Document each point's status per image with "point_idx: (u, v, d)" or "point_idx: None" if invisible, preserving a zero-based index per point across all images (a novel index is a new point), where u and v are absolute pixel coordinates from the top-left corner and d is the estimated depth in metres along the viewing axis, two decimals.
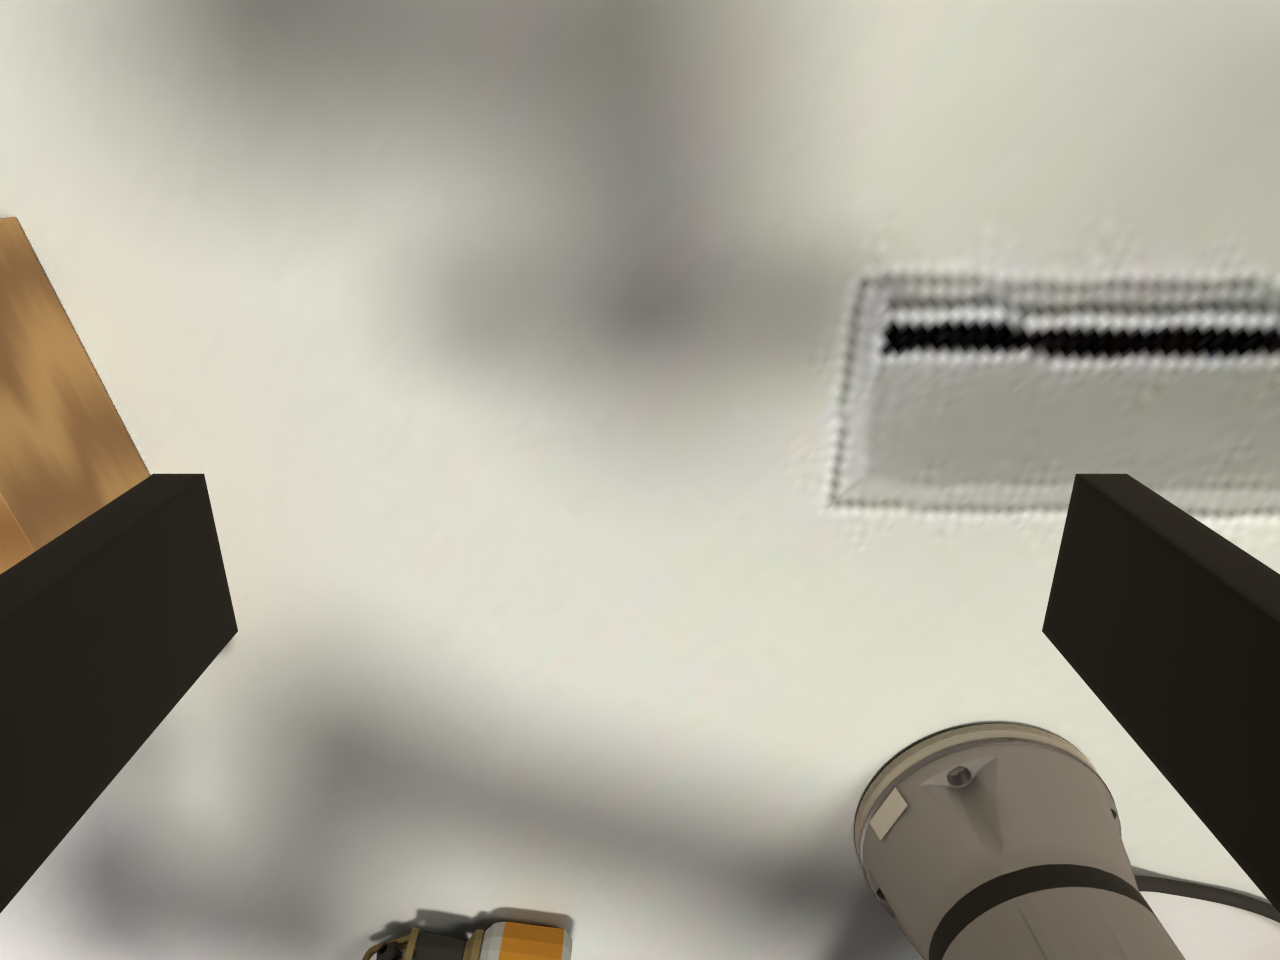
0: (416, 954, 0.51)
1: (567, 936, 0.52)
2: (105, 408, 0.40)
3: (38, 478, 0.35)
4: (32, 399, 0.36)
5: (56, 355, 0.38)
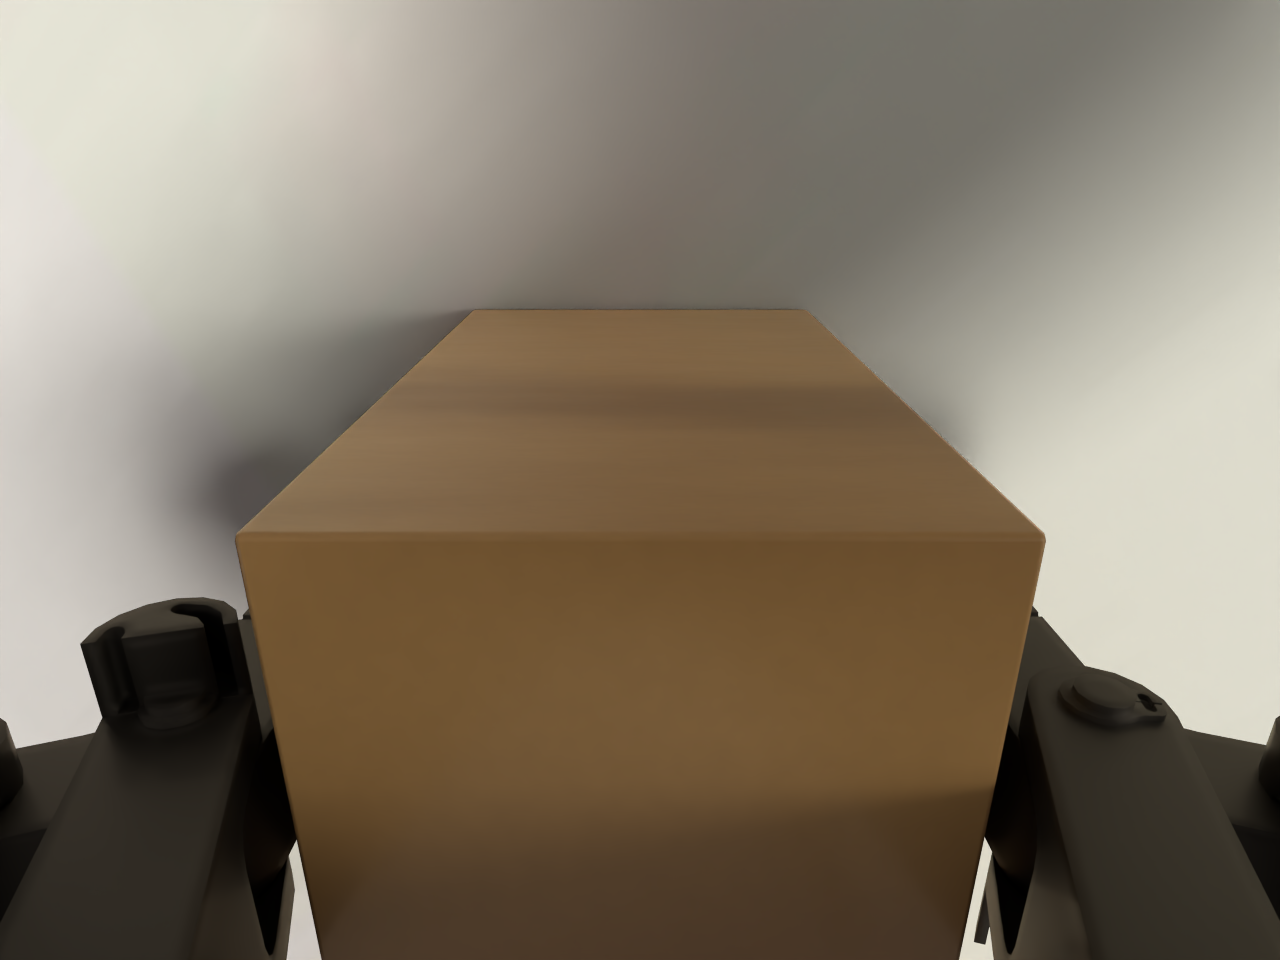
0: None
1: None
2: None
3: None
4: None
5: None
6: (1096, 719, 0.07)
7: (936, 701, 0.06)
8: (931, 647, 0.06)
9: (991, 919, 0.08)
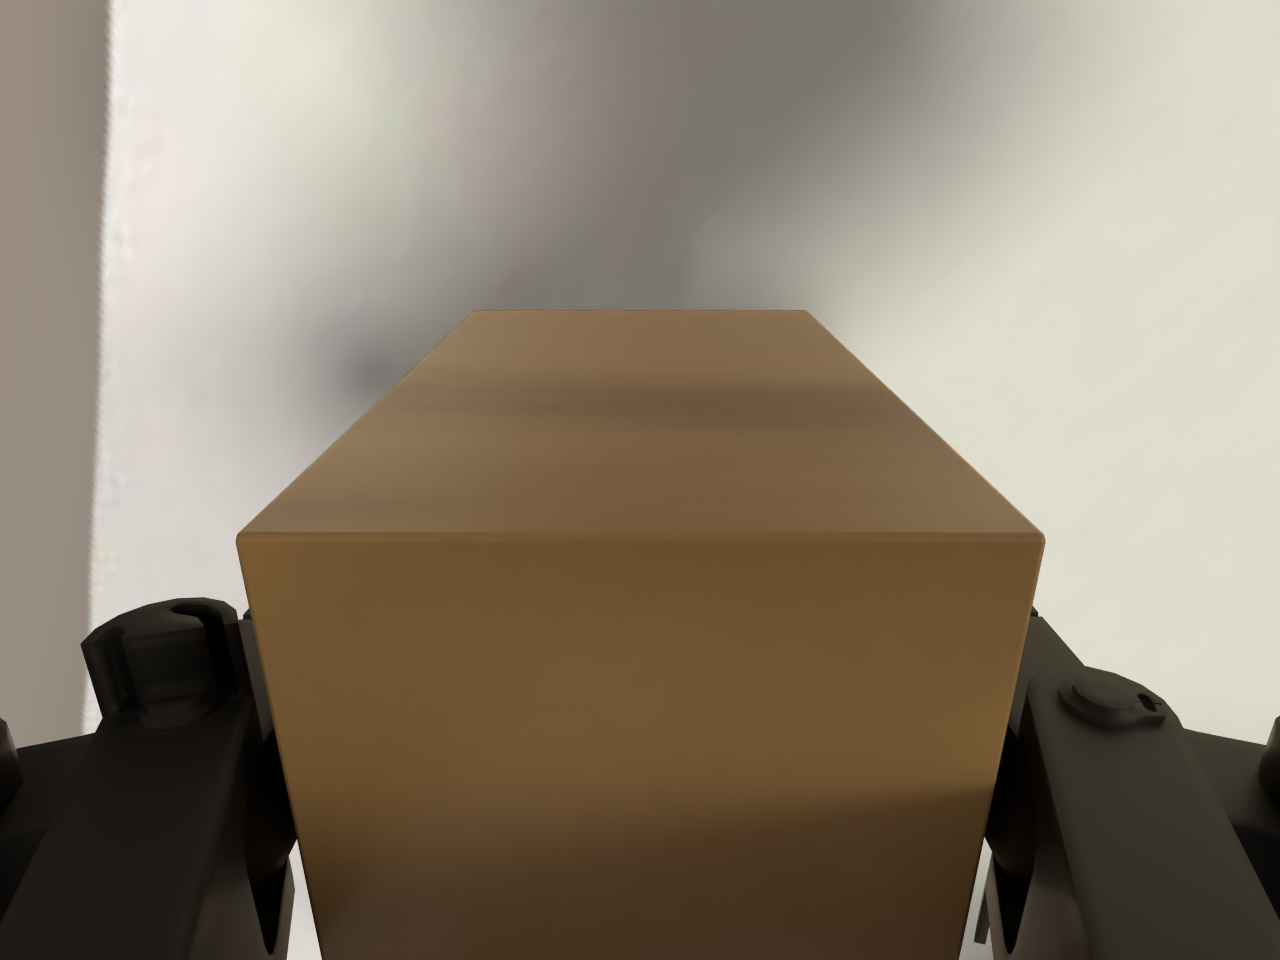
0: None
1: None
2: None
3: None
4: None
5: None
6: (1097, 719, 0.07)
7: (936, 702, 0.06)
8: (930, 648, 0.06)
9: (991, 919, 0.08)
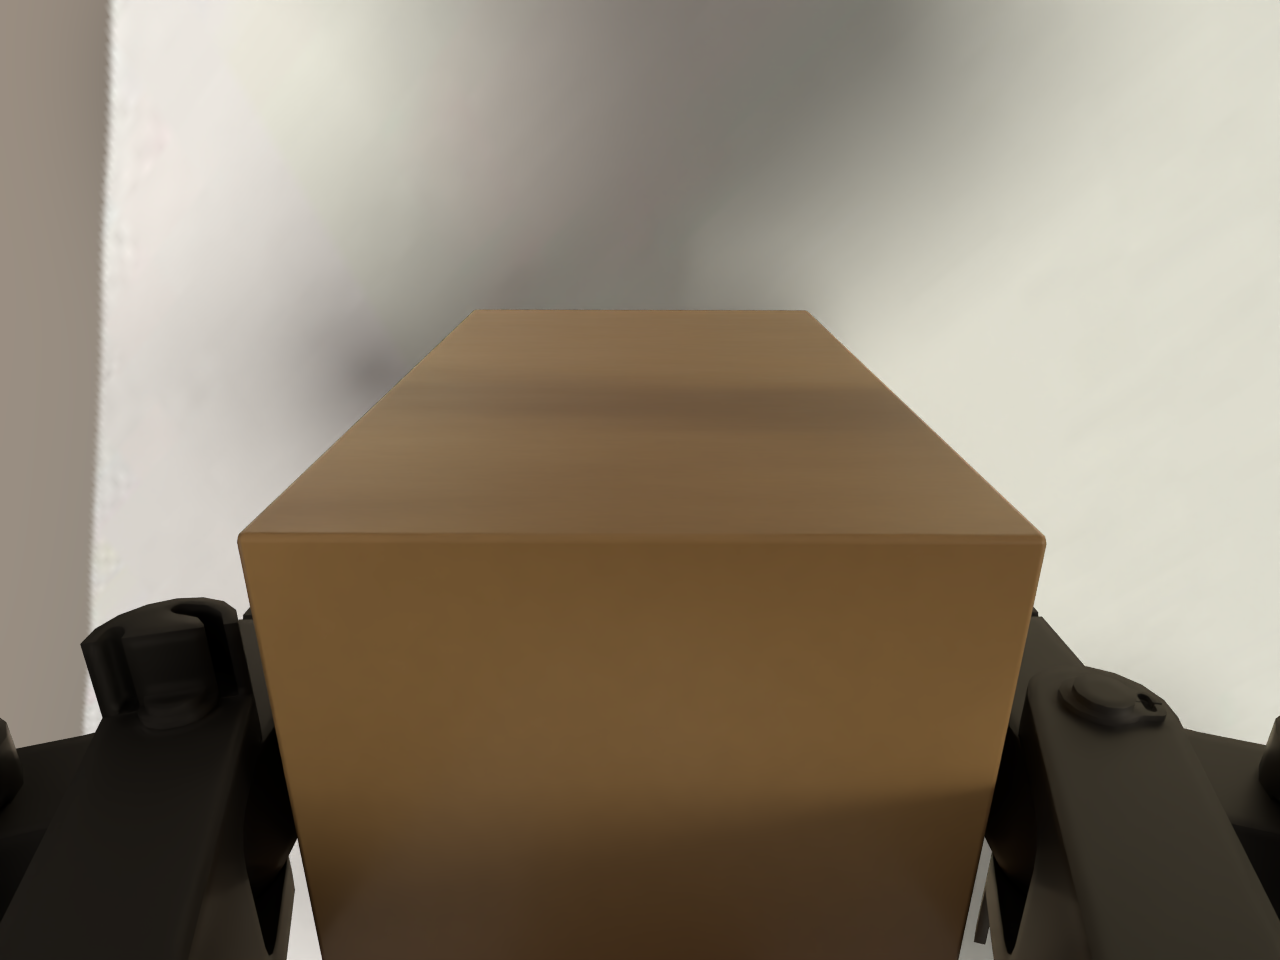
0: None
1: None
2: None
3: None
4: None
5: None
6: (1096, 719, 0.07)
7: (936, 703, 0.06)
8: (932, 650, 0.06)
9: (991, 919, 0.08)
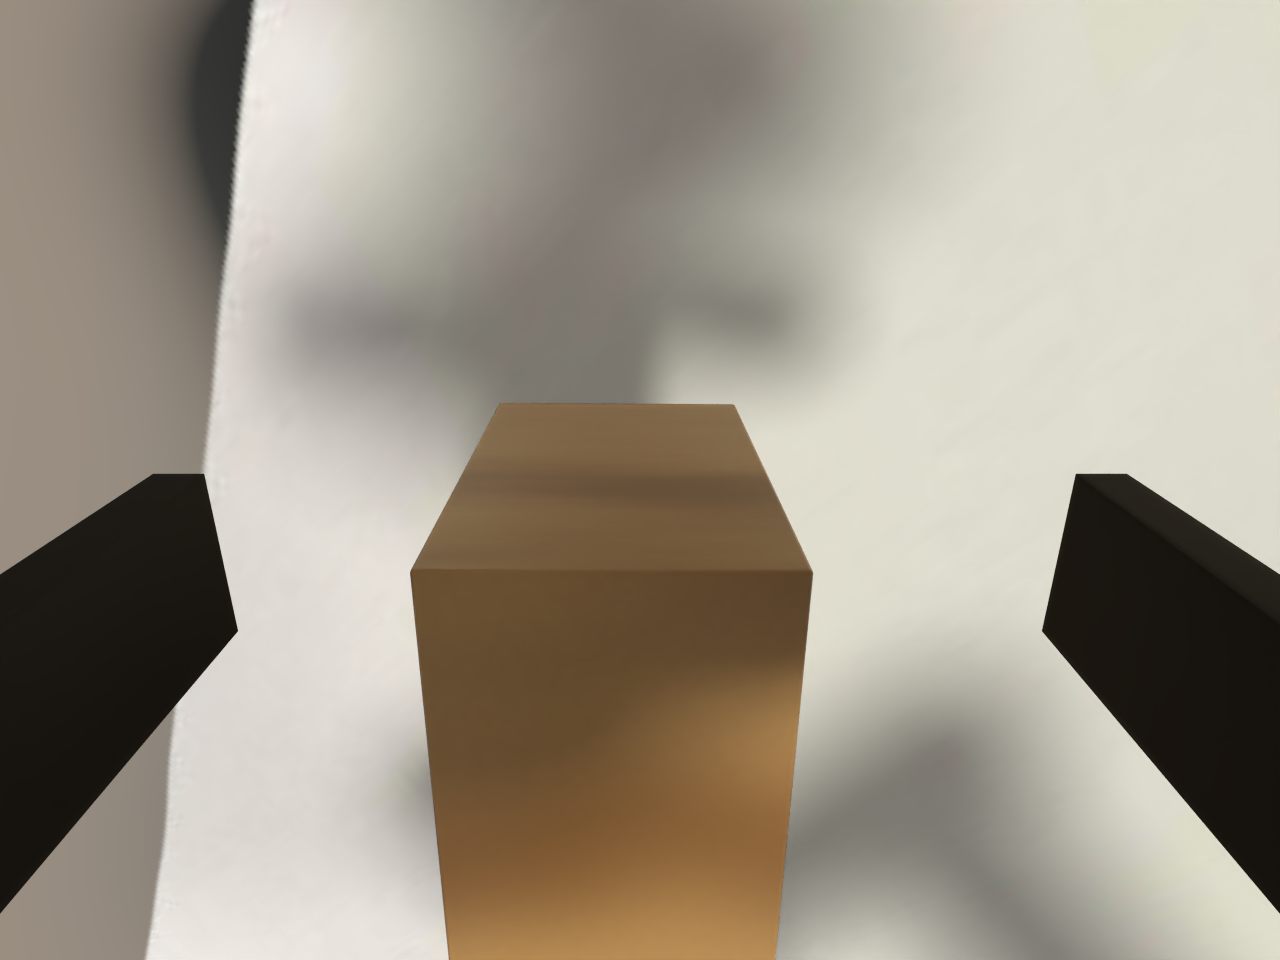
0: None
1: None
2: None
3: None
4: None
5: None
6: None
7: (765, 656, 0.12)
8: (760, 628, 0.12)
9: None
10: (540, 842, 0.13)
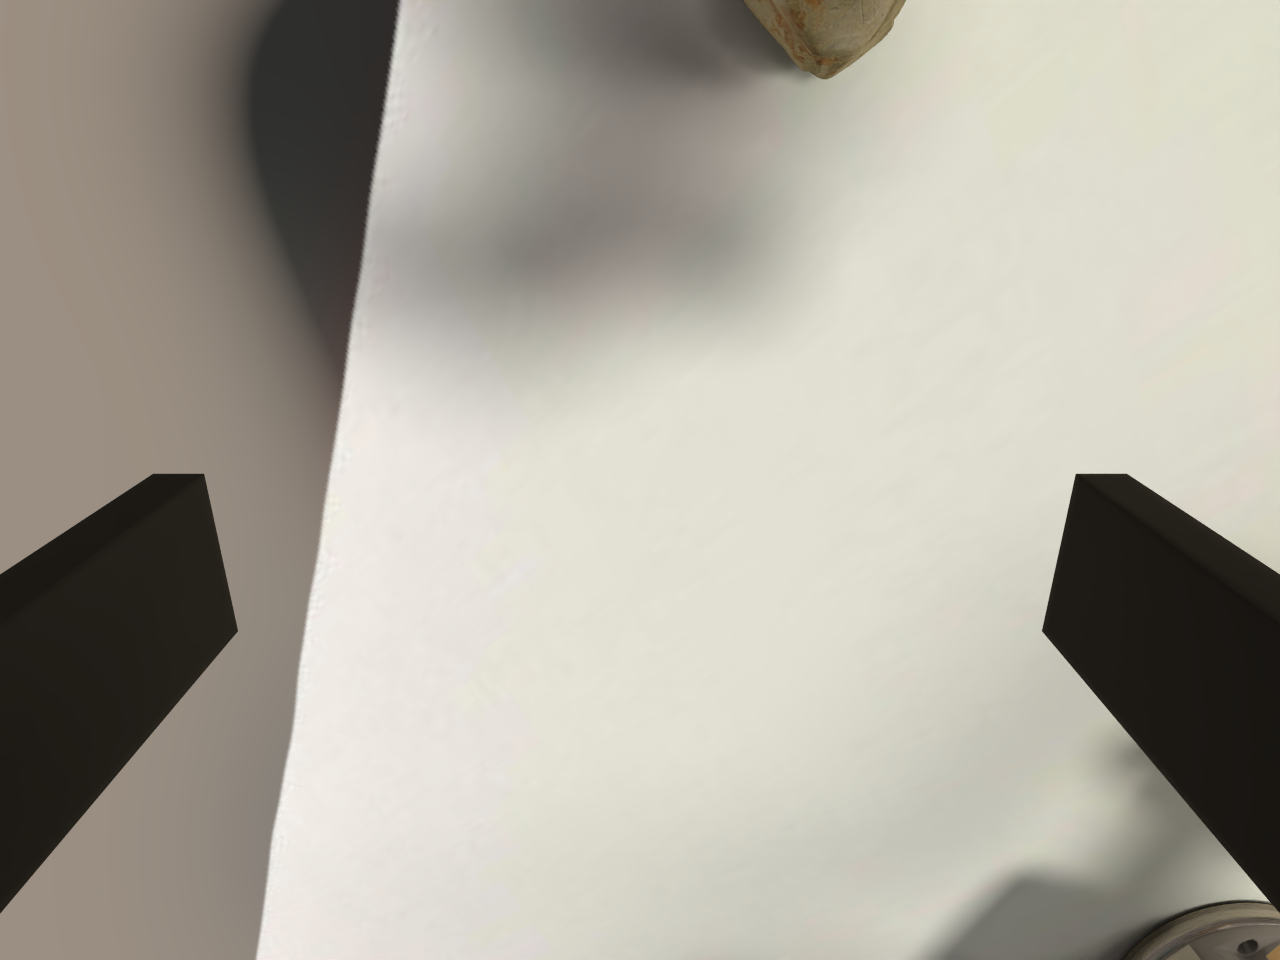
0: None
1: None
2: None
3: None
4: None
5: None
6: None
7: None
8: None
9: None
10: None
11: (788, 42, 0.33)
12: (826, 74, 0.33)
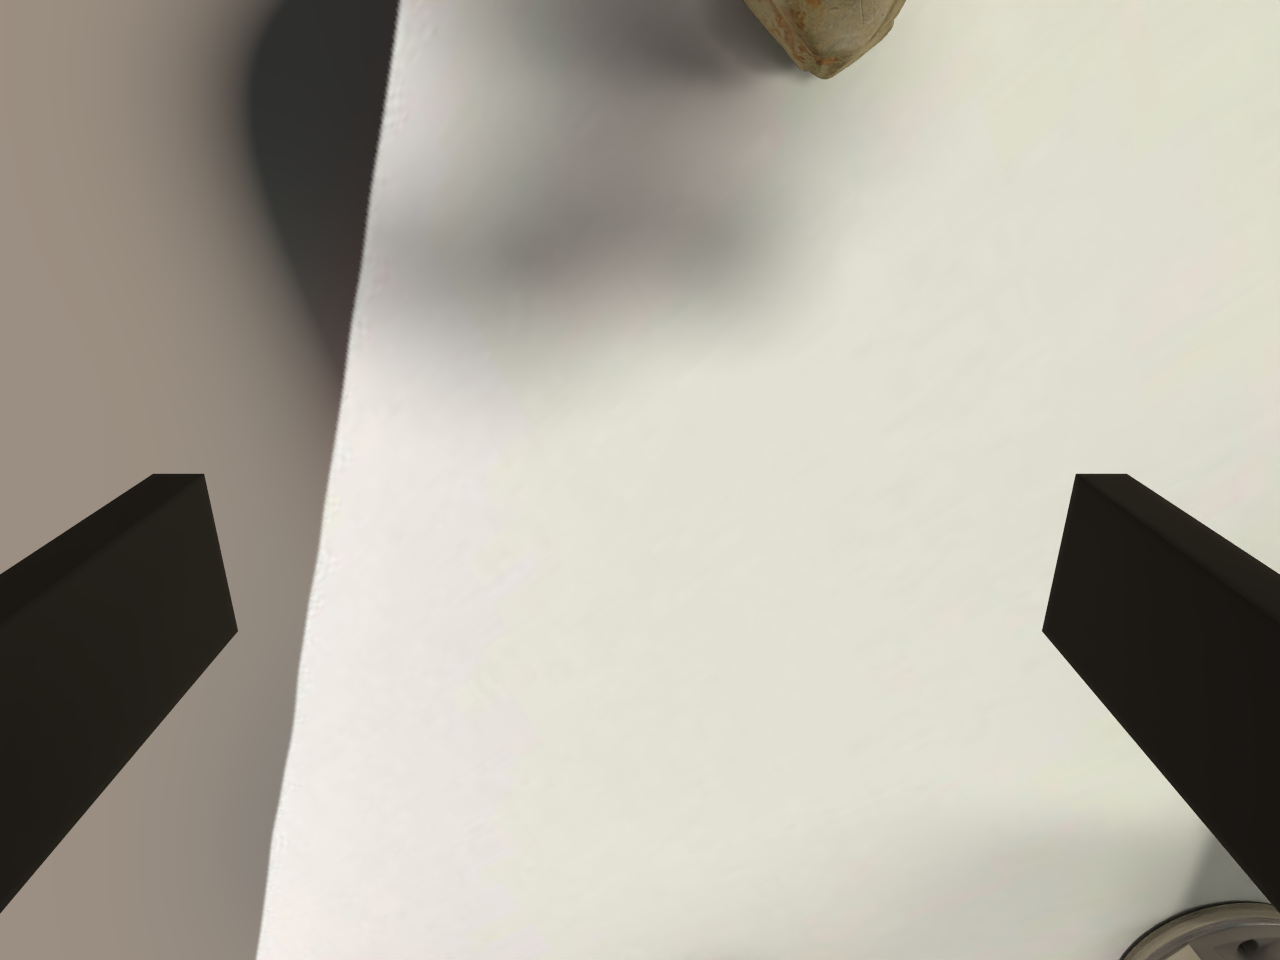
0: None
1: None
2: None
3: None
4: None
5: None
6: None
7: None
8: None
9: None
10: None
11: (788, 42, 0.33)
12: (826, 74, 0.33)
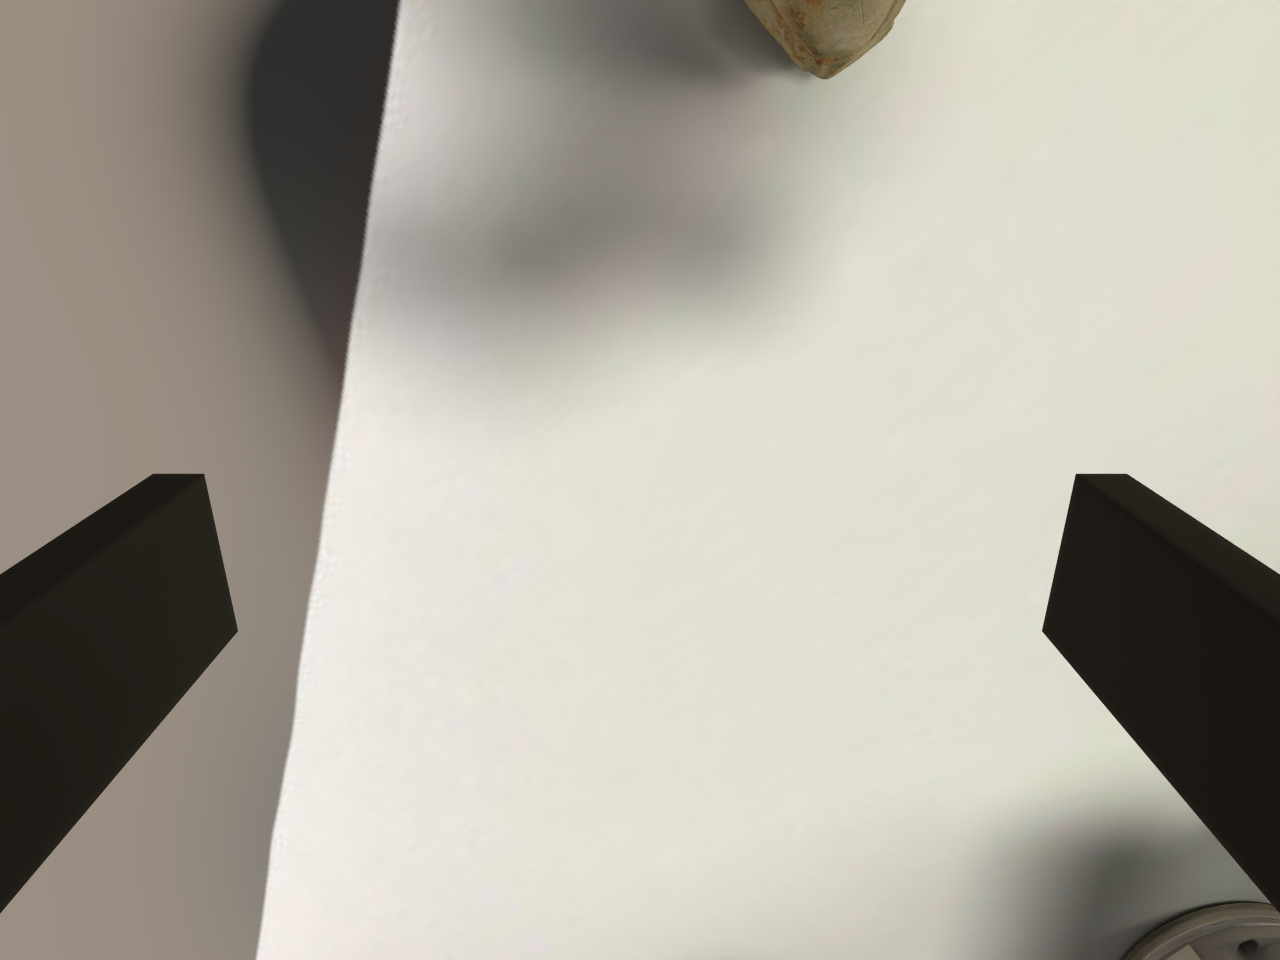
0: None
1: None
2: None
3: None
4: None
5: None
6: None
7: None
8: None
9: None
10: None
11: (788, 42, 0.33)
12: (826, 74, 0.33)
